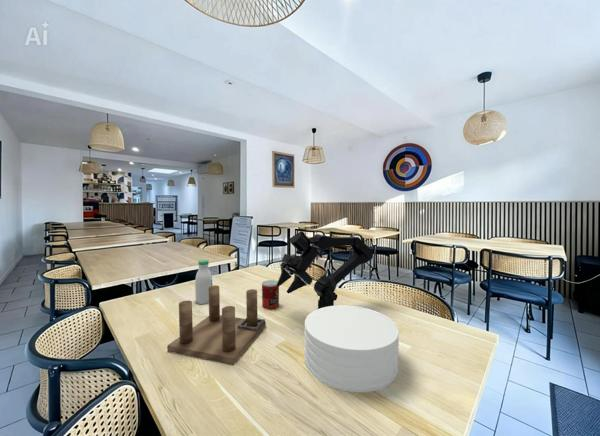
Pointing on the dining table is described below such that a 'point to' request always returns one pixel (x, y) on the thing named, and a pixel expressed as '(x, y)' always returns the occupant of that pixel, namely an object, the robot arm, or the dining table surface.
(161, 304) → the dining table surface
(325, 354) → the plate stack
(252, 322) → the stool leg
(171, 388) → the dining table surface
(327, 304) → the robot arm
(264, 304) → the canned food
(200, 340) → the peg board
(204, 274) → the milk bottle
